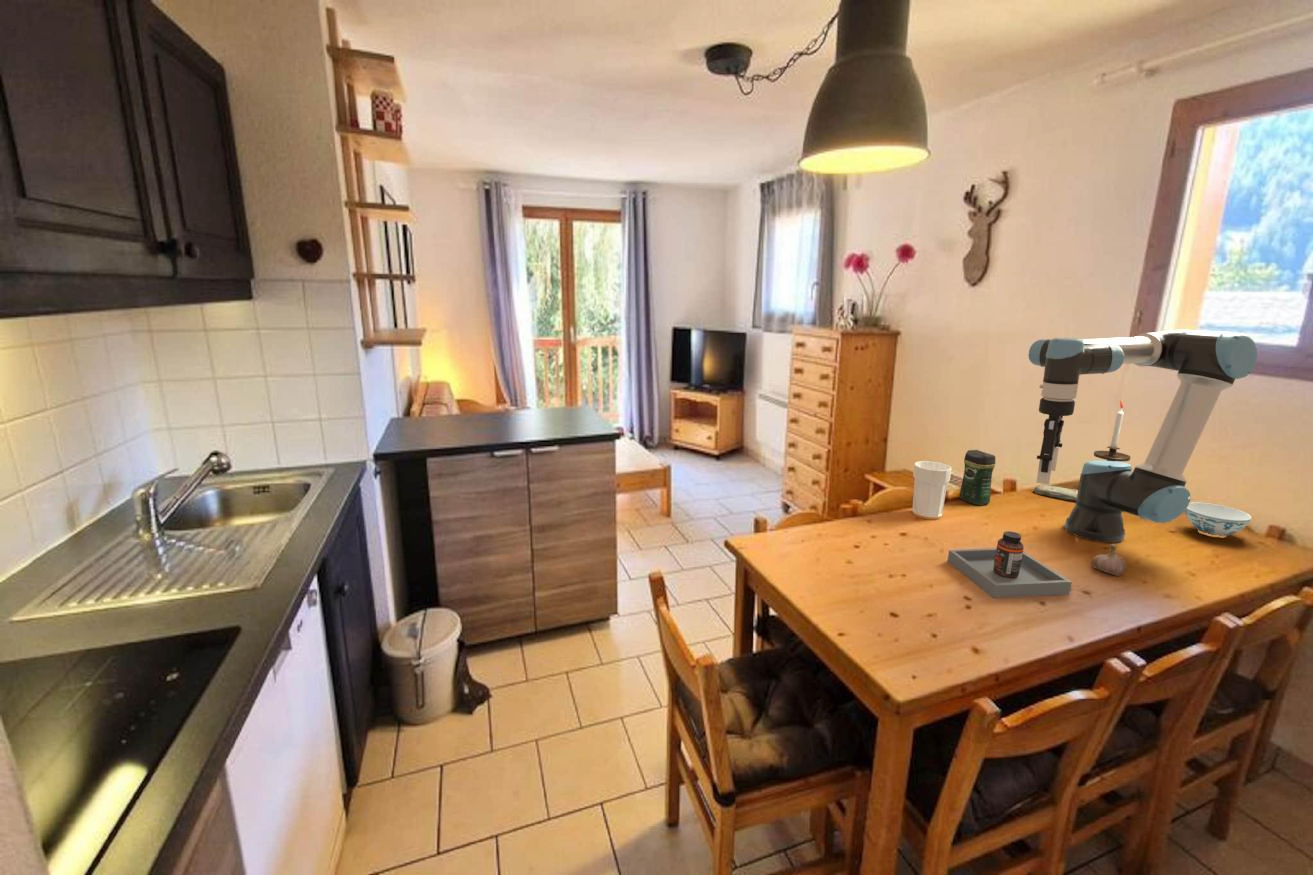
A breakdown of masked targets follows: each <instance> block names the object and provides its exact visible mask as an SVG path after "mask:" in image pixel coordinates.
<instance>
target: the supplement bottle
mask: <svg viewBox="0 0 1313 875" xmlns="http://www.w3.org/2000/svg"><path fill="white" fill-rule="evenodd" d="M996 544H997V545H996V548H997V549H996V555H995V561H994V568H993V570H994V572H995V573H997V574H998V575H1000V576H1004V577H1008V578H1015V577H1017V576H1018V575H1019V572H1020V566H1021V561H1022V555H1023V552H1024V549H1025V545H1024V544H1023V543H1022V535H1021V534H1020V533H1018V532H1016V531H1010V530H1006V531H1004V532H1003V535H1002V538H1000V539H998V540H997V543H996Z"/></svg>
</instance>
